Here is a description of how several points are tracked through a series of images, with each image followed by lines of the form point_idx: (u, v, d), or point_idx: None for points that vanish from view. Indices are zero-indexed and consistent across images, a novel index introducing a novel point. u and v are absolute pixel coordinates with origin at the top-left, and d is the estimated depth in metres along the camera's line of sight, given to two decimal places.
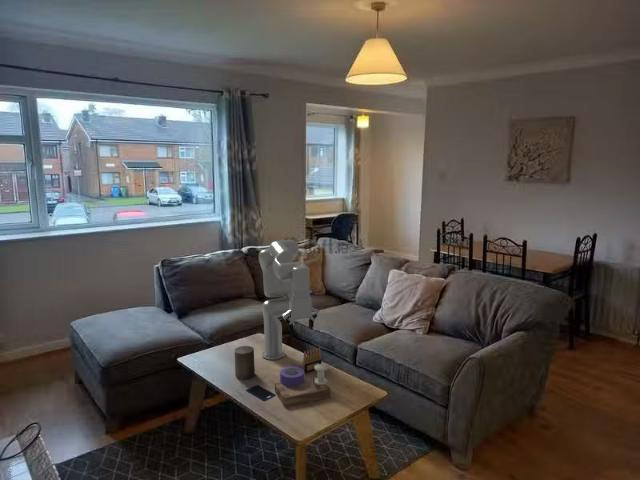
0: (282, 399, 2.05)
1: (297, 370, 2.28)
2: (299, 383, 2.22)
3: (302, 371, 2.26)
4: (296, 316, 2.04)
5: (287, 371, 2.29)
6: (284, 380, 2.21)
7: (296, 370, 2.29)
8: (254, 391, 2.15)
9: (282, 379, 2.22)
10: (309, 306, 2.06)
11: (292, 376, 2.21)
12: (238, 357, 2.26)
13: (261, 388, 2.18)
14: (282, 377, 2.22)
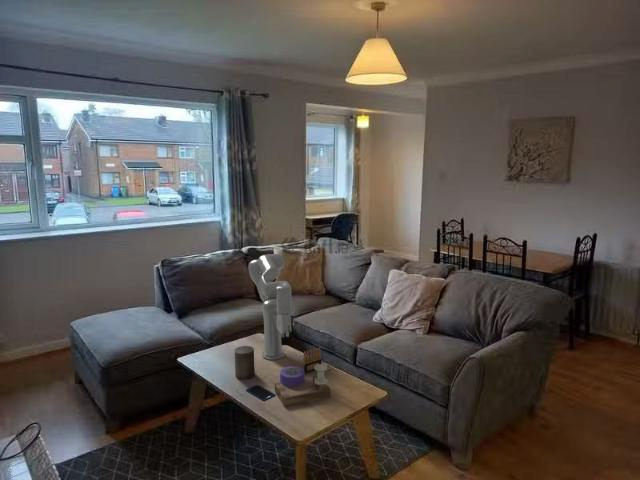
0: (282, 399, 2.05)
1: (297, 370, 2.28)
2: (299, 383, 2.22)
3: (302, 371, 2.26)
4: None
5: (287, 371, 2.29)
6: (284, 380, 2.21)
7: (296, 370, 2.29)
8: (254, 391, 2.15)
9: (282, 379, 2.22)
10: None
11: (292, 376, 2.21)
12: (238, 357, 2.26)
13: (261, 388, 2.18)
14: (282, 377, 2.22)
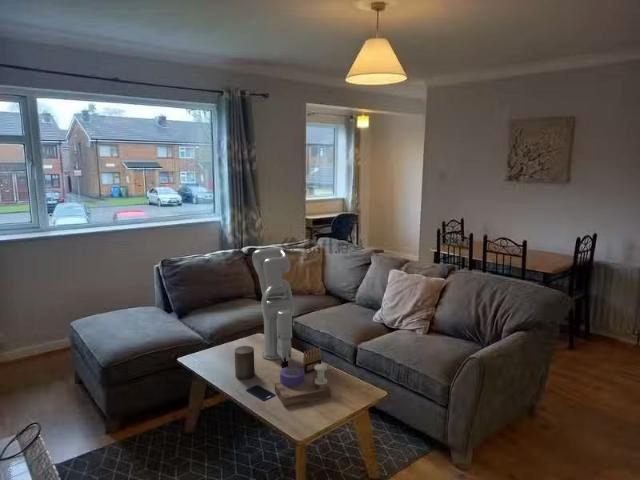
0: (282, 399, 2.05)
1: (297, 370, 2.28)
2: (299, 383, 2.22)
3: (302, 371, 2.26)
4: None
5: (287, 371, 2.29)
6: (284, 380, 2.21)
7: (296, 370, 2.29)
8: (254, 391, 2.15)
9: (282, 379, 2.22)
10: None
11: (292, 376, 2.21)
12: (238, 357, 2.26)
13: (261, 388, 2.18)
14: (282, 377, 2.22)
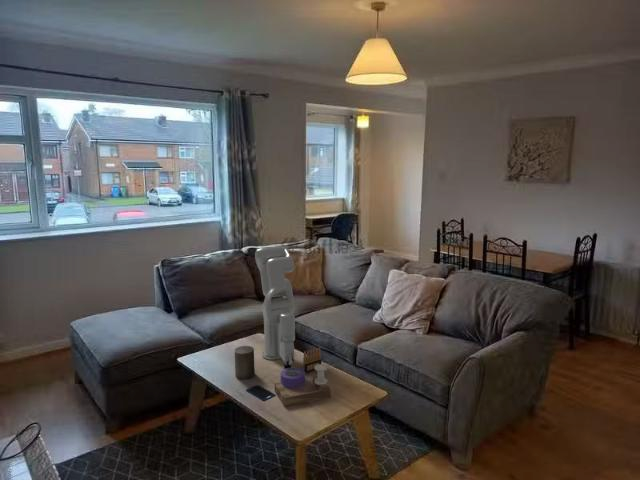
0: (282, 399, 2.05)
1: (298, 371, 2.27)
2: (300, 384, 2.21)
3: (303, 372, 2.25)
4: None
5: (288, 372, 2.28)
6: (285, 381, 2.20)
7: (297, 371, 2.28)
8: (254, 391, 2.15)
9: (282, 380, 2.21)
10: None
11: (292, 377, 2.19)
12: (238, 357, 2.26)
13: (261, 388, 2.18)
14: (283, 378, 2.21)
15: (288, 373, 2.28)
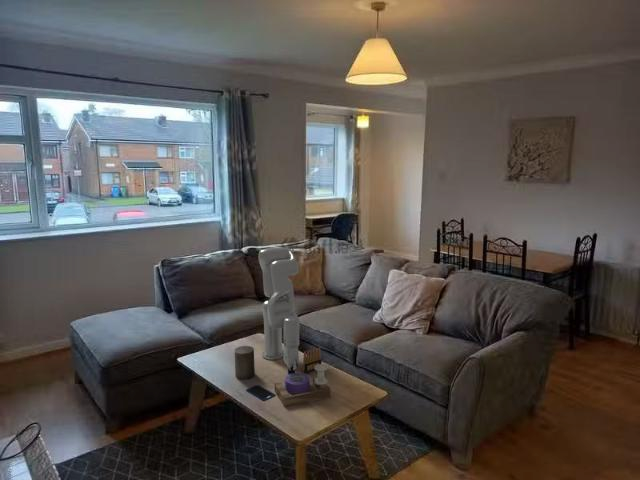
0: (282, 399, 2.05)
1: (302, 376, 2.22)
2: (305, 390, 2.15)
3: (308, 378, 2.19)
4: None
5: (292, 378, 2.22)
6: (290, 387, 2.14)
7: (301, 376, 2.22)
8: (254, 391, 2.15)
9: (287, 386, 2.15)
10: None
11: (297, 383, 2.14)
12: (238, 357, 2.26)
13: (261, 388, 2.18)
14: (287, 384, 2.15)
15: (292, 379, 2.22)
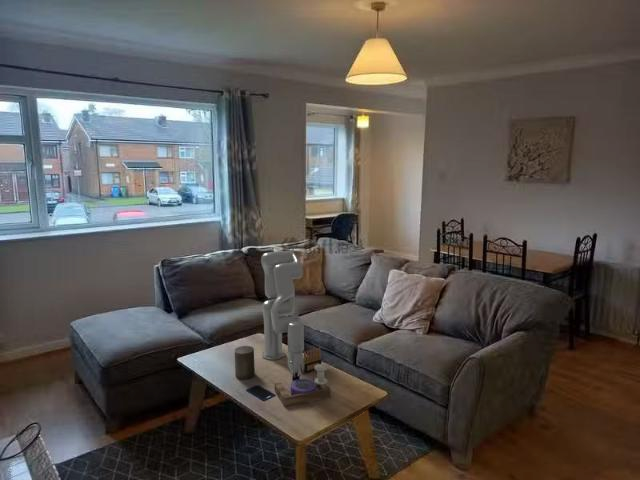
0: (282, 399, 2.05)
1: (308, 383, 2.16)
2: None
3: (314, 383, 2.14)
4: None
5: (298, 384, 2.16)
6: None
7: (307, 383, 2.16)
8: (254, 391, 2.15)
9: (293, 393, 2.09)
10: None
11: (304, 389, 2.08)
12: (238, 357, 2.26)
13: (261, 388, 2.18)
14: (294, 391, 2.09)
15: (298, 385, 2.16)
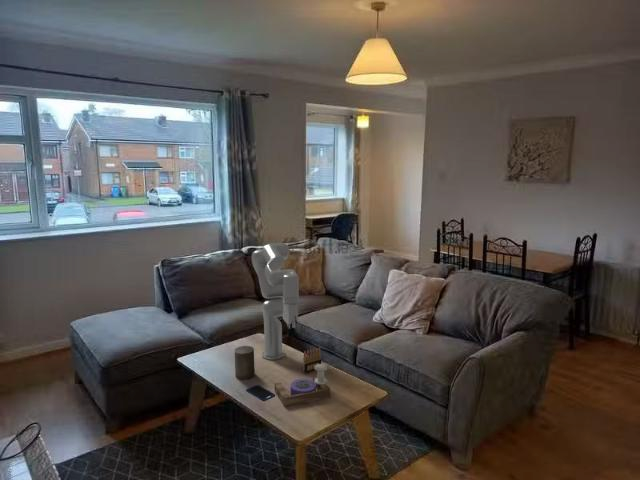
0: (282, 399, 2.05)
1: (308, 383, 2.16)
2: None
3: (314, 383, 2.14)
4: None
5: (298, 384, 2.16)
6: None
7: (307, 383, 2.16)
8: (254, 391, 2.15)
9: (293, 393, 2.09)
10: None
11: (304, 389, 2.08)
12: (238, 357, 2.26)
13: (261, 388, 2.18)
14: (294, 391, 2.09)
15: (298, 385, 2.16)
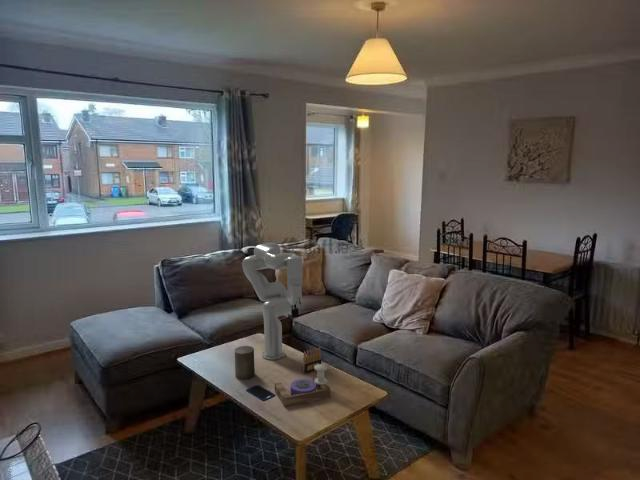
0: (282, 399, 2.05)
1: (308, 383, 2.16)
2: None
3: (314, 384, 2.14)
4: None
5: (298, 384, 2.16)
6: None
7: (307, 383, 2.16)
8: (254, 391, 2.15)
9: (293, 393, 2.09)
10: None
11: (304, 389, 2.08)
12: (238, 357, 2.26)
13: (261, 388, 2.18)
14: (294, 391, 2.09)
15: (298, 385, 2.16)
